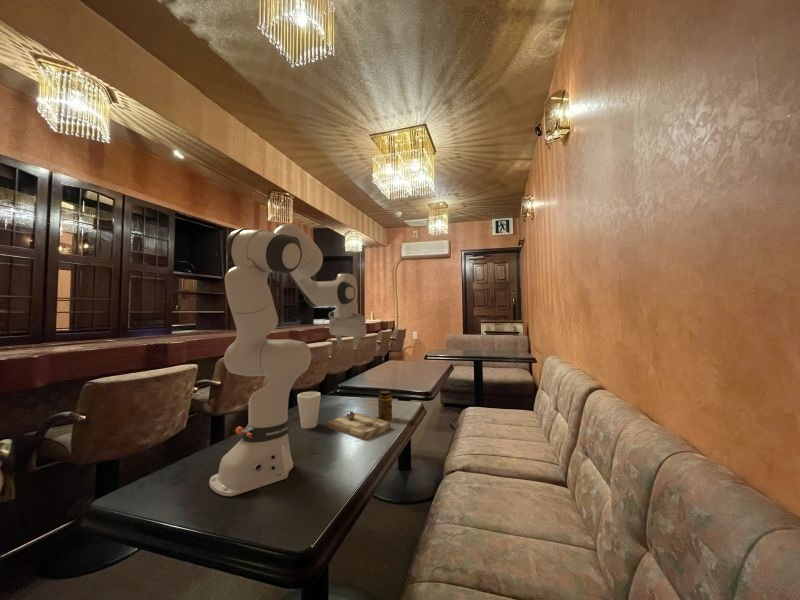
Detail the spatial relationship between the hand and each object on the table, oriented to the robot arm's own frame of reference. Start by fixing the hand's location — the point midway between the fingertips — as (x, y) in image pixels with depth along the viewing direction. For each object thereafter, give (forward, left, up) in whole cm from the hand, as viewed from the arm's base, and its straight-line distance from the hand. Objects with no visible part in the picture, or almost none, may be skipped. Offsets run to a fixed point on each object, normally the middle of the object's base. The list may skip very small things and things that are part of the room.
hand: (347, 347), depth 134 cm
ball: (+3, +2, -29) cm, 29 cm away
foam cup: (-8, +15, -33) cm, 37 cm away
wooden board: (+3, -3, -33) cm, 33 cm away
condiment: (+17, -4, -33) cm, 37 cm away
